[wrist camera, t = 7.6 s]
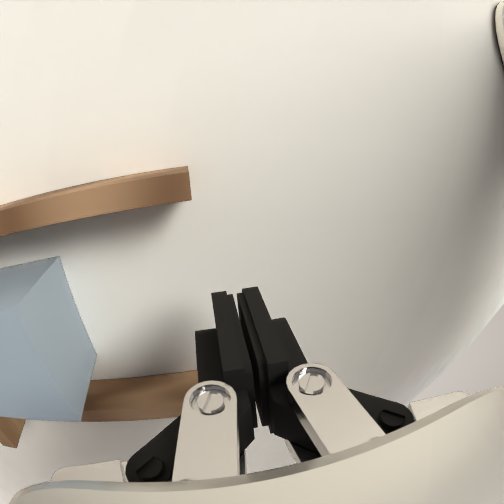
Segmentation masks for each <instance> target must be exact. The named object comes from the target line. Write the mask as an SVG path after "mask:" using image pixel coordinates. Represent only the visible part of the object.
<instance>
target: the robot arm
mask: <svg viewBox="0 0 504 504" xmlns="http://www.w3.org/2000/svg"><path fill="white" fill-rule="evenodd" d="M495 24H496V33H497V39H498V44H499V48H500V53H501V57H502V60H503V64H504V1H503V2H500V3H499V4H498V5H497V8H496V13H495ZM211 295H212V302H213V309H214V316H215V323H216V328H215V329H207V330H200V331H195V341H196V357H197V372H198V384H196V385H195V386H193V387H192V388H190V389H189V391H188V392H187V393H186V395H185V398H184V402H183V408H182V414H181V415H180V416H179V417H178V418H177V419H175V420H174V421H173V422H172V423H171V424H170V425H169V426H167V427H166V428H165V429H164V430H163V431H162V432H160V433H159V434H158V435H157V436H156V437H154V438H153V439H152V440H151V441H150V442H148V443H147V444H146V445H145V446H144V447H142V448H141V449H140V450H139V451H138V452H136V453H135V454H134V455H133V456H132V457H131V458H130V459H129V460H128V461H125V462H120V461H119V460H113V461H107V462H101V463H94V464H87V465H78V466H69V467H63V468H60V469H58V470H57V471H56V472H55V473H54V474H53V476H52V478H51V482H44V483H40V484H36V485H32V486H29V487H27V488H24V489H22V490H20V491H19V492H18V493H16V494H15V495H14V497H13V498H12V499H11V501H10V503H9V504H504V387H496V388H490V389H487V390H483V391H480V392H477V393H474V394H472V395H469V394H468V393H466V392H462V391H457V392H452V393H449V394H444V395H440V396H436V397H432V398H428V399H423V400H419V401H414V402H410V403H409V405H408V406H404V405H402V404H399V403H397V402H393V401H389V400H386V399H382V398H379V397H375V396H372V395H368V394H365V393H361V392H358V391H355V390H352V389H348V388H347V387H346V386H345V385H344V384H343V382H342V381H341V380H340V379H339V378H338V376H337V375H336V374H335V373H334V372H333V371H332V370H331V369H330V368H328V367H326V366H324V365H321V364H317V363H307V361H306V359H305V357H304V355H303V353H302V351H301V349H300V347H299V345H298V343H297V341H296V339H295V336H294V334H293V332H292V330H291V328H290V326H289V324H288V322H287V320H286V319H285V318H279V319H273V320H271V318H270V315H269V313H268V310H267V308H266V306H265V303H264V301H263V299H262V296H261V294H260V291H259V289H258V287H251V288H244V289H242V293H237V300H238V310H239V317H238V313H237V309H236V305H235V302H234V298H233V294H230V295H227V293H226V291H223V292H215V293H211ZM255 401H256V404H255ZM256 405H257V409H258V412H259V416H260V420H261V423H262V426H267V425H268V426H269V430H270V433H274V434H275V435H277V436H279V437H281V438H284V439H285V443H286V445H287V447H288V449H289V451H290V453H291V454H292V456H293V458H294V460H295V462H296V463H297V464H293V465H289V466H285V467H280V468H276V469H271V470H266V471H261V472H255V473H249V474H247V468H246V450H245V449H246V448H247V447H248V445H249V444H250V443H251V442H252V441H253V440H254V429H253V428H257V427H258V425H257V414H256Z"/></svg>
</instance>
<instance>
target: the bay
mask: <svg viewBox="0 0 504 504" xmlns="http://www.w3.org/2000/svg"><path fill="white" fill-rule="evenodd" d="M189 200H192V198H191V189H190V180H189V171H188V166H185V167H177V168H170V169H163V170H157V171H150V172H144V173H138V174H132V175H127V176H121V177H116V178H111V179H105V180H100V181H96V182H91V183H86V184H81V185H77V186H72V187H68V188H64V189H60V190H55V191H51V192H47V193H43V194H39V195H36V196H32V197H28V198H25V199H21V200H17V201H14V202H10V203H7V204H4V205H0V236H3V235H7V234H12V233H16V232H20V231H24V230H29V229H33V228H37V227H42V226H46V225H51V224H56V223H61V222H65V221H70V220H75V219H80V218H86V217H91V216H96V215H102V214H107V213H113V212H118V211H124V210H130V209H136V208H142V207H149V206H155V205H161V204H168V203H175V202H182V201H189ZM196 384H198V372H197V370H195V371H188V372H180V373H172V374H164V375H155V376H146V377H135V378H123V379H109V380H90V383H89V387H88V391H87V396H86V400H85V404H84V409H83V413H82V418H81V421H82V422H102V421H132V420H147V419H159V418H170V417H179V416H180V415H181V414H182V408H183V402H184V398H185V395H186V393H187V392H188V391H189V389H190V388H192V387H193V386H195V385H196ZM25 420H26V419H19V418H10V417H1V416H0V442H1V444H2V445H3V446H8V447H13V448H17V446H18V442H19V439H20V436H21V433H22V429H23V426H24V423H25Z"/></svg>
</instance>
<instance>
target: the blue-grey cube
mask: <svg viewBox="0 0 504 504" xmlns="http://www.w3.org/2000/svg"><path fill="white" fill-rule="evenodd" d="M96 357H97V354H96V352H95V349H94V347H93V345H92V343H91V340H90V338H89V336H88V334H87V331H86V329H85V326H84V324H83V322H82V319H81V317H80V314H79V312H78V309H77V306H76V304H75V301H74V298H73V296H72V293H71V290H70V287H69V284H68V281H67V278H66V275H65V272H64V269H63V266H62V263H61V259H60V256H57V257H52V258H48V259H43V260H38V261H33V262H28V263H24V264H19V265H14V266H10V267H5V268H1V269H0V416H1V417H10V418H19V419H31V420H48V421H81V418H82V413H83V409H84V404H85V400H86V396H87V391H88V387H89V383H90V379H91V375H92V372H93V368H94V364H95V361H96Z"/></svg>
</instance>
